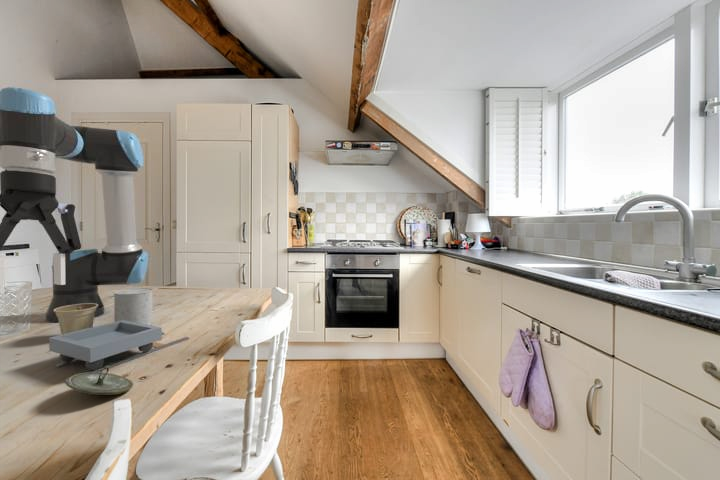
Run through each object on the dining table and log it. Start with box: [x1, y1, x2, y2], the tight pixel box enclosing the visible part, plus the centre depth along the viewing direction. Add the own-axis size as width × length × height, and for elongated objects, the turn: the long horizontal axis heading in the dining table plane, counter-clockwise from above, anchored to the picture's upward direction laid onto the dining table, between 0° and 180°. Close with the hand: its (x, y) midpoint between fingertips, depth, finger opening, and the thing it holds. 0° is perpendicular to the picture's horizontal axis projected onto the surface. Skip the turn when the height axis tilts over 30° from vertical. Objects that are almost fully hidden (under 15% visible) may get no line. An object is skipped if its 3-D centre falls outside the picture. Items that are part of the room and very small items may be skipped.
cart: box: [48, 320, 163, 370], centre depth 75 cm, size 15×15×6 cm
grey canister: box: [113, 287, 154, 326], centre depth 95 cm, size 10×10×12 cm
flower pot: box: [53, 303, 98, 335], centre depth 89 cm, size 9×9×9 cm
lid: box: [64, 366, 134, 396], centre depth 60 cm, size 11×10×5 cm
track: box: [54, 331, 190, 373], centre depth 80 cm, size 11×25×1 cm, turn 158°
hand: (30, 287), depth 62 cm, fingers open, 8 cm apart
